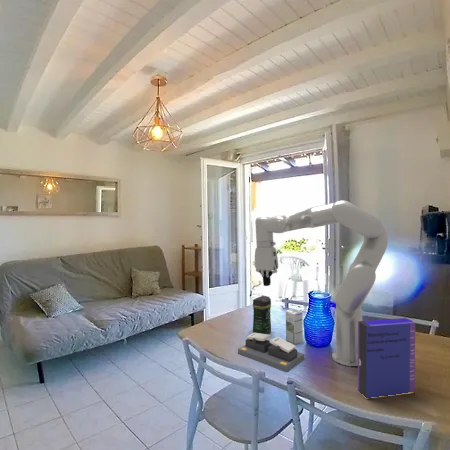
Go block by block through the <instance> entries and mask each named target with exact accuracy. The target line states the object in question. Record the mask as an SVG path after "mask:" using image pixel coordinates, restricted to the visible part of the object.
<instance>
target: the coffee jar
mask: <svg viewBox="0 0 450 450" xmlns="http://www.w3.org/2000/svg"><path fill="white" fill-rule="evenodd" d="M271 307H272V299H271V298H270V296H267V295H260V296H258V297H256V298H254V299H253V300H252V308H253V319H252V334H253V333H261V334H268V335H271V332H272V323H271V321H272V319H271V318H272V317H271Z"/></svg>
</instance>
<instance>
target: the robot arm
mask: <svg viewBox="0 0 450 450" xmlns="http://www.w3.org/2000/svg"><path fill="white" fill-rule="evenodd" d="M254 222H255V237H256V238H255V240H256V247H255V251H254V268H255V272H256V273H259V274H260V275H261V277H262V282H263V286H264V287H269V286H271V277H272V276H273V274H277V273H278V269H279V260H278V259H279V258H278V254H277V249H276V247H275V246H276V242H275V241H274V234H283V233H287V232H291V231H296V230H303V229H310V228H311V229H312V228H313V229H314V228H319V227H325V226H329V225H334V224H341V225H343V226H344V227H346V228H347V229H350V230H352V231H353V232H354V233H357V234H358V235H360V236H362V237H363V243H362V244H361V247H360V249H359V251H358V253H357V254H356V256H355V257H354V260H353V262H351V264H350V266H349V267H348V272H347V274H346V276H345V278H344V279H343V281H342V283H341V284H339V285H338V287H337V288H336V291H335V296H334V302H335V305H336V306H335V307H336V308H335V309H336V310H335V317H336V318H335V333H336V334H335V335H336V336H335V337H336V338H335V346H336V347H335V351H334V352H333V353H332V354H331V357H332V360H333V361H334V362H336V363H337V364H339V363H340V365H342V366H345V365H346V367H351V366H358V321H362V305H363V304H364V302H365V301H366V299H367V297H368V295H369V294H370V291H371V290H372V288H373V286H374V285H375V282H376V278H377V277H376V276H377V275H376V271H377V268H378V267H379V265H380V263H381V261H382V259H383V257H384V255H385V253H386V250H387V248H388V244H389V243H388V242H389V241H388V239H389V238H388V233H387V230H386V228H385V226H384V224H383V222H382V220H381V219H380V217H378V216H376V215H374V214H372V213H370V212H368V211H366V210H364V209H362V208H360V207H358V206H356V205H355V204H353V203H351V202H349V201H347V200H344V199H341V200H337V201H335V202H331V203H326V204H322V205H317V206H311V207H309V208H307V209H305V210H302V211H298V212H294V213H289V214H286V215H277V216H271V217H270V216H264V217H263V216H261V217H257V218H256V219H255V221H254Z"/></svg>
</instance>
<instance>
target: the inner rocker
mask: <svg viewBox="0 0 450 450" xmlns="http://www.w3.org/2000/svg"><path fill="white" fill-rule="evenodd" d="M269 341H270V343H271V344H273V345H275V346H279V347H280V349H282V350H284V351H286V352H287V353H289V352H291V351H292V350H294V349H297V346H296V344H293V343H291V342H287V340H286V339H283V338H281V337H280V336H275V337H273V338H272V339H270V340H269Z"/></svg>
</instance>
